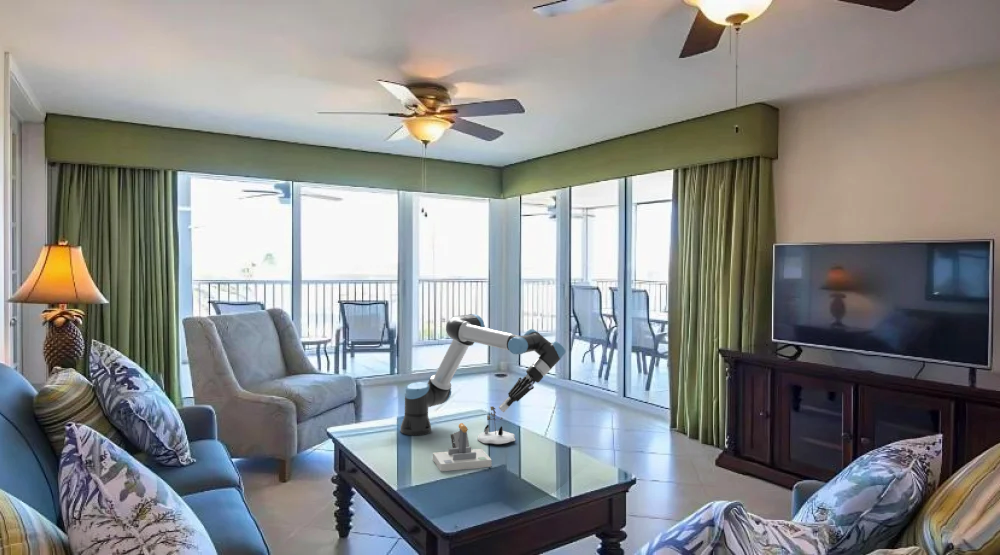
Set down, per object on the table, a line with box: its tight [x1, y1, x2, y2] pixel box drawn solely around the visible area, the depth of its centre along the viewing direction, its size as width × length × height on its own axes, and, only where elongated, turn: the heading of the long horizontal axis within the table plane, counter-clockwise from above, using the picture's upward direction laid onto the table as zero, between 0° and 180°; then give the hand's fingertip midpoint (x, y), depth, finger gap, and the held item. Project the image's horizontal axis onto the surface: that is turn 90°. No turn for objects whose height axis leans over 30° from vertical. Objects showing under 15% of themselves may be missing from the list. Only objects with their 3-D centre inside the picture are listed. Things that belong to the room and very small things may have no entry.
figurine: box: [477, 406, 516, 445], centre depth 282 cm, size 20×18×16 cm
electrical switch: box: [450, 430, 470, 448], centre depth 267 cm, size 8×5×8 cm, turn 141°
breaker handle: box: [458, 422, 469, 453], centre depth 248 cm, size 6×2×13 cm, turn 20°
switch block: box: [432, 446, 493, 472], centre depth 249 cm, size 14×22×5 cm, turn 110°
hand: (501, 409), depth 254 cm, fingers closed
